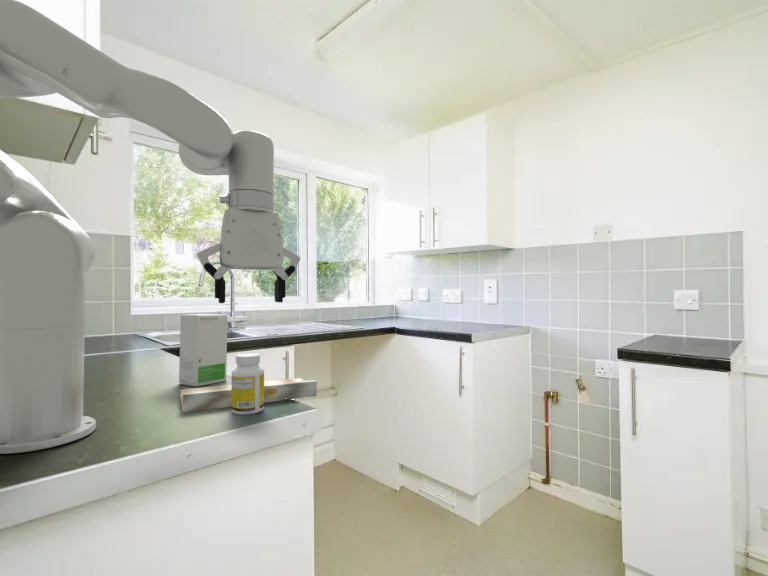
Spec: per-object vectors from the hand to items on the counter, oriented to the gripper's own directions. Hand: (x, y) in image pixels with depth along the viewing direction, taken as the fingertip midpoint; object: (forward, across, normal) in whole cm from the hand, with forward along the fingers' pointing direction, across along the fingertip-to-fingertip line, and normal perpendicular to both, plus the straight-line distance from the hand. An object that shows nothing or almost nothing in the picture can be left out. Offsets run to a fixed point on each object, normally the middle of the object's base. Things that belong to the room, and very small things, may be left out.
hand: (251, 302), depth 70 cm
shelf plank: (+19, +2, +10) cm, 21 cm away
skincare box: (+19, -6, +27) cm, 34 cm away
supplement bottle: (+19, 0, 0) cm, 19 cm away
